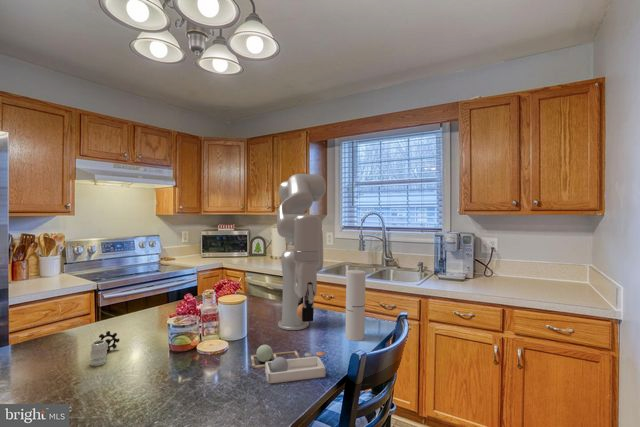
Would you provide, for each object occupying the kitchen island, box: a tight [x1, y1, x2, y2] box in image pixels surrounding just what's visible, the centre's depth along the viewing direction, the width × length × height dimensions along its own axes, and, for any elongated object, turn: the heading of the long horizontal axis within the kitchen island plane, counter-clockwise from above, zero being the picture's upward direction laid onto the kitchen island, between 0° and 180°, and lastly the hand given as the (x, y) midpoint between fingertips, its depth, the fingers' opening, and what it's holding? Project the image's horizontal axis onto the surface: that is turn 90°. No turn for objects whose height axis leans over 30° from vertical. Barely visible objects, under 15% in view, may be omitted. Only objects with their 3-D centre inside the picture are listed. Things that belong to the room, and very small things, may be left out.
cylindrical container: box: [344, 269, 367, 342], centre depth 126 cm, size 7×7×25 cm
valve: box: [89, 330, 121, 367], centre depth 104 cm, size 7×7×12 cm
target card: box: [304, 351, 326, 358], centre depth 109 cm, size 6×9×1 cm, turn 106°
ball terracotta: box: [297, 303, 315, 319], centre depth 98 cm, size 5×5×5 cm
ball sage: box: [255, 344, 274, 363], centre depth 103 cm, size 5×5×5 cm
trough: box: [264, 355, 326, 385], centre depth 96 cm, size 8×16×3 cm, turn 106°
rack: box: [250, 350, 301, 369], centre depth 104 cm, size 8×15×1 cm, turn 106°
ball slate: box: [271, 356, 288, 373], centre depth 95 cm, size 5×5×5 cm
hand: (305, 317), depth 98 cm, fingers closed on ball terracotta, 5 cm apart
